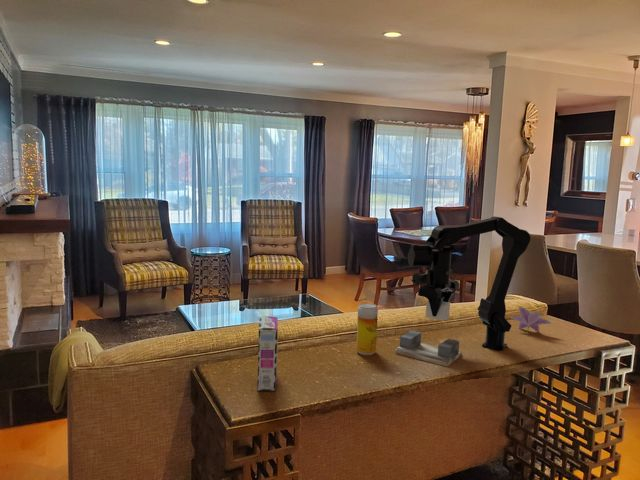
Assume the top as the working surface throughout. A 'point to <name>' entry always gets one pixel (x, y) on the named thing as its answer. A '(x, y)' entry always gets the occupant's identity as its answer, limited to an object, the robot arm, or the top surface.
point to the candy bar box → (267, 353)
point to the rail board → (428, 349)
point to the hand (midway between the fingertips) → (437, 314)
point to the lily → (529, 319)
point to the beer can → (367, 329)
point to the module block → (442, 313)
